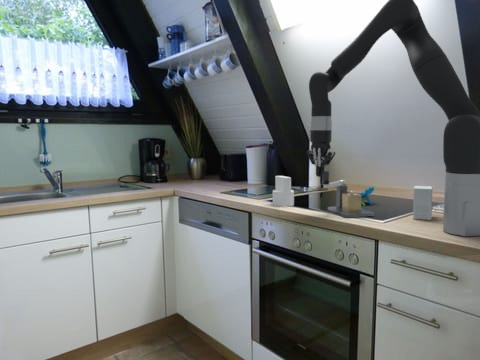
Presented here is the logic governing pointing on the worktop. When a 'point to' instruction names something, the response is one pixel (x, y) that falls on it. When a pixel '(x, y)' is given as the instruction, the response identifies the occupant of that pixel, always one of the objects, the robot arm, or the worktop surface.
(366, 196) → the blue plastic figure
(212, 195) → the worktop surface
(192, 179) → the worktop surface
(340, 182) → the lever
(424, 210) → the small box
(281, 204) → the base with upright slab
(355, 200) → the housing
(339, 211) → the press
